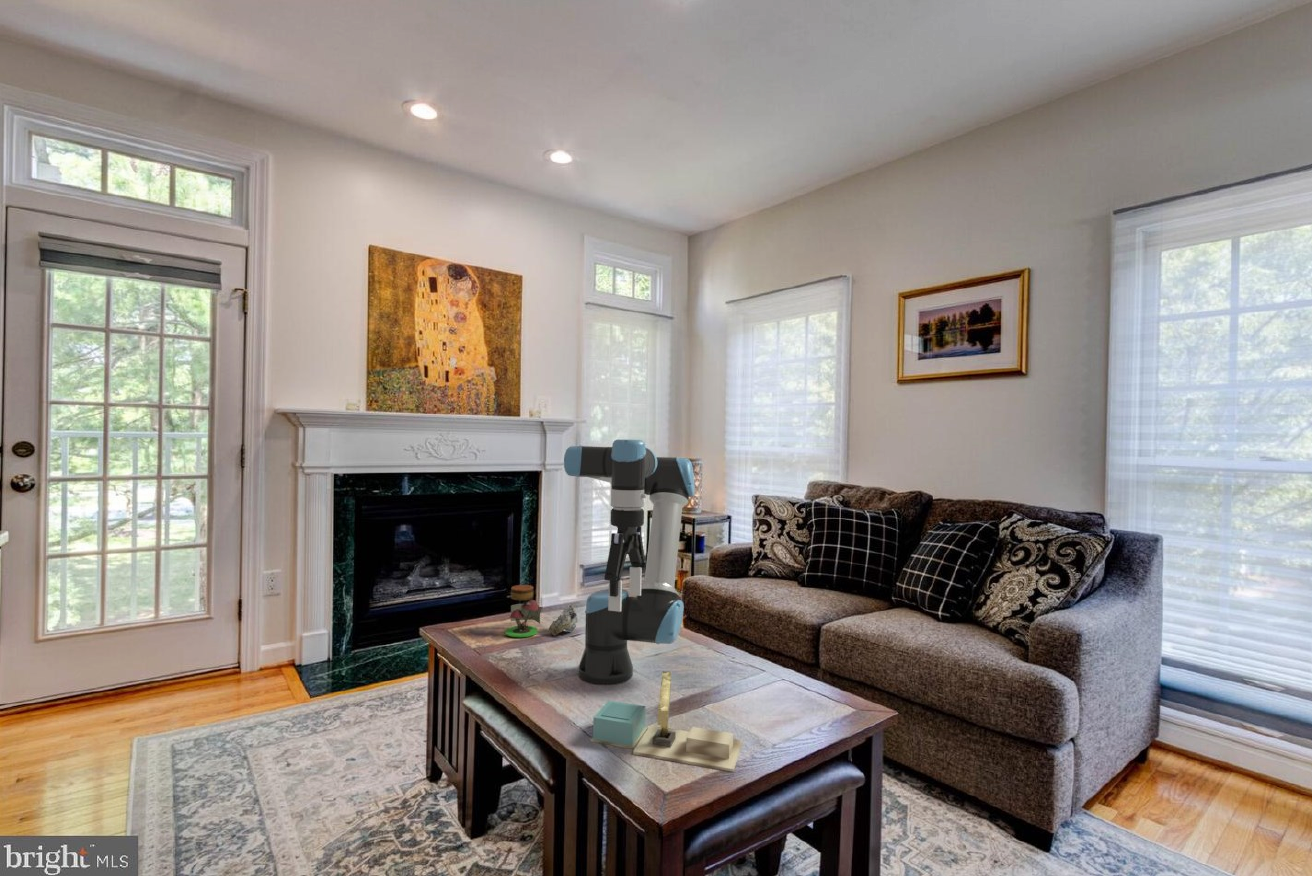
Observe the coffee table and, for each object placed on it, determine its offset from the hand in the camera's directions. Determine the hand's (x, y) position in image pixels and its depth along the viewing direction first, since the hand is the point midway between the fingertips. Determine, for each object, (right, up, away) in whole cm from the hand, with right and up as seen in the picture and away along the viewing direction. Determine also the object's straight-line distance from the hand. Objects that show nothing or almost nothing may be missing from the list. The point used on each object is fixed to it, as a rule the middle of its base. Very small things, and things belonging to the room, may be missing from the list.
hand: (625, 602), depth 136 cm
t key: (+9, -29, -6) cm, 31 cm away
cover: (-1, -29, -2) cm, 29 cm away
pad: (-1, -29, -2) cm, 29 cm away
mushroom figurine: (-37, -28, +66) cm, 81 cm away
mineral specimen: (-21, -25, +62) cm, 70 cm away
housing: (+14, -29, -7) cm, 33 cm away
